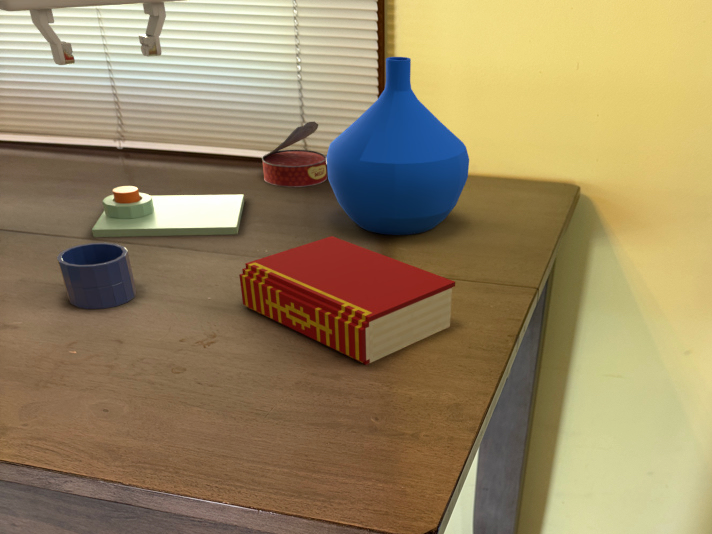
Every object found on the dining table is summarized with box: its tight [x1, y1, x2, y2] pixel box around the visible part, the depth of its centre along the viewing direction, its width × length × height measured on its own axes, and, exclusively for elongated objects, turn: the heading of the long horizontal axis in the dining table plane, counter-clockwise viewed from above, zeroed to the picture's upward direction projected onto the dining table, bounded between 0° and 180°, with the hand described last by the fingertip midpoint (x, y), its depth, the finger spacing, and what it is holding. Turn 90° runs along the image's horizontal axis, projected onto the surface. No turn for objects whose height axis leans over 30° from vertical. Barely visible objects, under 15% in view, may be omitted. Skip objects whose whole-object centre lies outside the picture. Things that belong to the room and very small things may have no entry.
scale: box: [91, 192, 245, 238], centre depth 101 cm, size 18×14×3 cm
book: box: [238, 235, 456, 366], centre depth 77 cm, size 18×13×5 cm
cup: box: [56, 242, 137, 310], centre depth 80 cm, size 7×7×5 cm
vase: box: [325, 56, 470, 236], centre depth 96 cm, size 18×18×19 cm
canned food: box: [261, 121, 328, 188], centre depth 116 cm, size 11×10×10 cm
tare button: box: [112, 185, 140, 204], centre depth 99 cm, size 3×3×2 cm
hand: (109, 59), depth 78 cm, fingers open, 8 cm apart
